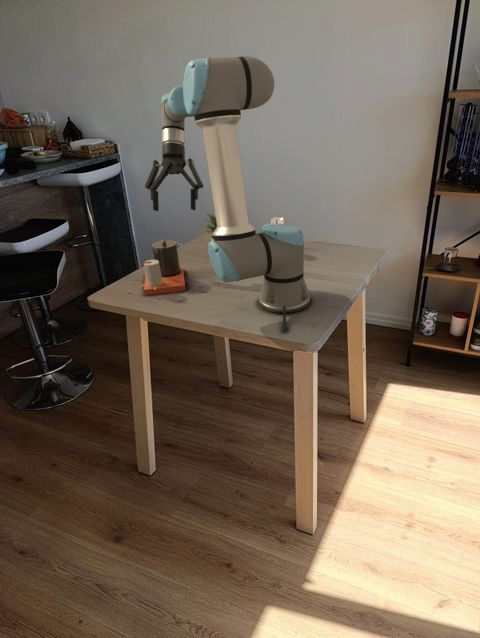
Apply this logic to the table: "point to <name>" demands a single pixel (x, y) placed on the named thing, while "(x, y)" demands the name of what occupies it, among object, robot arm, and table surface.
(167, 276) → the burner
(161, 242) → the enamel pot
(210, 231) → the house plant
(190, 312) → the table surface
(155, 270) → the hob knob
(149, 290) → the hot plate
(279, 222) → the wineglass
